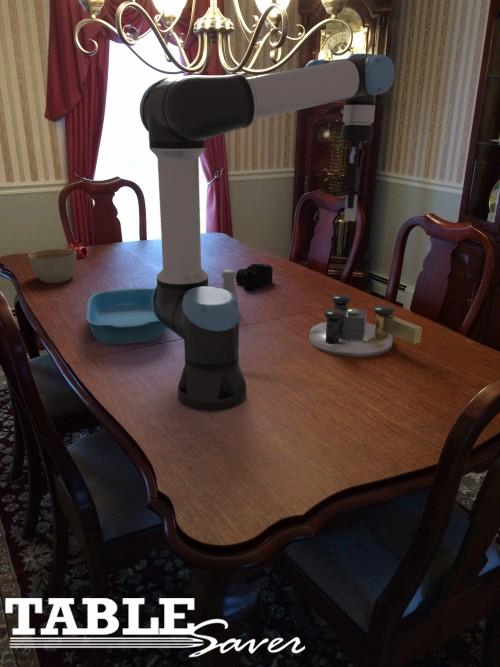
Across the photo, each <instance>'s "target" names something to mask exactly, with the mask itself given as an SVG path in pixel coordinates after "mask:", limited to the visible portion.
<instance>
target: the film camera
mask: <svg viewBox="0 0 500 667" xmlns="http://www.w3.org/2000/svg"><path fill="white" fill-rule="evenodd" d="M273 271H274V269H273V267H272V266H271V264H265V263H252V264H250V265H249V266H247V267H246V268H240V269H238V270H237V272H236V278H235V281H236V283H237V284H238V285H242V286H243V290H244V291H245V292H253V291H255V290H258V289H260V288H263V287H265V286H268V285H271V284H273V275H274V274H273V273H274V272H273Z"/></svg>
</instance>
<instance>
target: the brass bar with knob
mask: <svg viewBox="0 0 500 667" xmlns="http://www.w3.org/2000/svg"><path fill="white" fill-rule="evenodd" d="M373 313H374V314H376V315H375V316H376V317H375V324H374V325H375V335H374V336H375V337H376V338H380V339H386V338H388V335H389V334H391V335H392V336H393V337H396V338H398V339H400V340H403V341H405V342H407V343H410V344H412V345H415V344H418V343H421V340H422V333H423V332H422V331H423V327H422V326H420V325H418V324H415V323H412V322H410V321H407V320H405V319H402V318H399V317H397V316H394V314H395V308H394V307H393V306H392V305H383V304H382V305H380V304H379V305H375V306H374V307H373Z"/></svg>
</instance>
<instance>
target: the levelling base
mask: <svg viewBox="0 0 500 667" xmlns="http://www.w3.org/2000/svg"><path fill="white" fill-rule="evenodd" d="M351 299H352V298H351V296H350V295H348V294H343V293H342V294H341V293H339V294H337V293H336V294H333V295H331V301H332V302H333V303H334V304H333V308H331V309H330V308H329V309H326V310H324V312H323V317H324V318H326V321H324V322H320V323H318V324H316V325H313V326H312V327H311V328H310V330H309V342H310V344H311V345H312V346H313V347H315V348H316V349H318V350H320V351H321V352H325V353H328V354H330V355H331V354H332V355H335V356H339V357H347V358H368V357H370V358H371V357H375V356H380V355H383V354H385V353H387V352H389V351H390V350H391V349H392V347H393V341H394V340H393V339H394V336H393V335H391V334H389V335H388V338H386V339H380V338H376V337H375V336H374V335H375V325H376V324H373V323H369V322H367V316H368V315H367V314H368V310H367V309H358V308H353V307H352V308H348V303H350V302H351V301H352V300H351Z"/></svg>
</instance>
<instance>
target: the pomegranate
mask: <svg viewBox="0 0 500 667" xmlns="http://www.w3.org/2000/svg"><path fill="white" fill-rule="evenodd" d="M73 241H74V245H73V244H72V243H71V242H68V243H67V244H66V247H65V248H64V249H70V250H74V251H76V260H83V259H86V258H88V257H89V253H88V252H89V251H88V249H87V248H86V247H85V246H82V243H78V244H77V242H78V240H77V239H75V240H73Z"/></svg>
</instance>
